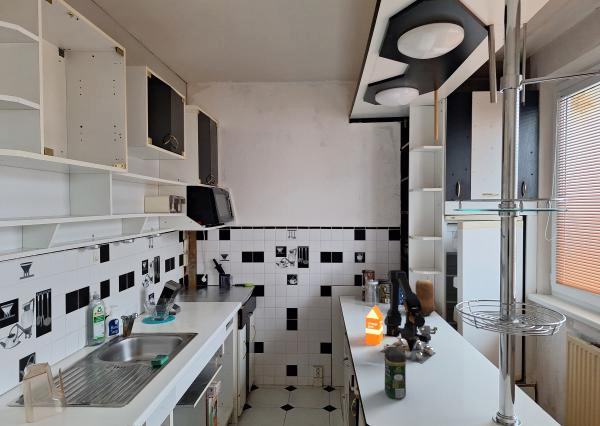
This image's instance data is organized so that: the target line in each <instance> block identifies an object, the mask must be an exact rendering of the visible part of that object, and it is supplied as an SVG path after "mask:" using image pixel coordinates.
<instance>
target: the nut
mask: <svg viewBox="0 0 600 426" xmlns="http://www.w3.org/2000/svg"><path fill="white" fill-rule="evenodd" d="M401 347H402V351H403V352H404V353H405V351H406V350H409V351H410V349H409V346H407V345H406V344H405V345H401Z"/></svg>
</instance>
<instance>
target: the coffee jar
mask: <svg viewBox="0 0 600 426" xmlns="http://www.w3.org/2000/svg"><path fill="white" fill-rule="evenodd" d="M406 365H407V360H406V355H405V353H404V352H403V351H402V350H401V349H400V348H398V347H388V348H386V349H385V353H384V391H385V394H386V395H387V397H389V398H391V399H395V400H396V399H397V400H401V399H404V398H406V396H407V387H406V386H407V385H406V379H407V377H406V376H407V375H406V370H407V368H406Z"/></svg>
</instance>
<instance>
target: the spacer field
mask: <svg viewBox="0 0 600 426" xmlns="http://www.w3.org/2000/svg"><path fill="white" fill-rule="evenodd" d="M396 338H397V345H398V346H396V347H398V348H400V349H401V350H402V347H401V345H403V344H404V339H403V338H401V337H396ZM405 342H406V344H405V345H407V346H408V343H407V341H405ZM390 345H391V344H386V343H385V344H383V349H384V353H383V354H385V349H386V348H388V347H390ZM422 345H423V342H421V341H417V342H416V344H415V347H416V350H421V349H423V353H425V354H427V355H428V356H432V357H433V356H434V355H433V352H434V348H433V346H432V347H431V346H430V345H428V344H424V345H423V347H422ZM405 355H406V359H408V360H407V361H410V359H411V351H409V350H406V351H405ZM416 360H417V361H422V352H416Z"/></svg>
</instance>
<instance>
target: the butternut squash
mask: <svg viewBox="0 0 600 426" xmlns="http://www.w3.org/2000/svg"><path fill="white" fill-rule="evenodd" d="M434 293H435V292H434V284H433V282H432V280H430V279H418V280H416V281H415V294H416V295H417V297H418V299H419V300H420V303H421V306H422V312H419V313H421V316H425V317H429V316H430V315H431V314H432V313H434V311H435V310H436V303H435V299H434Z"/></svg>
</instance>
